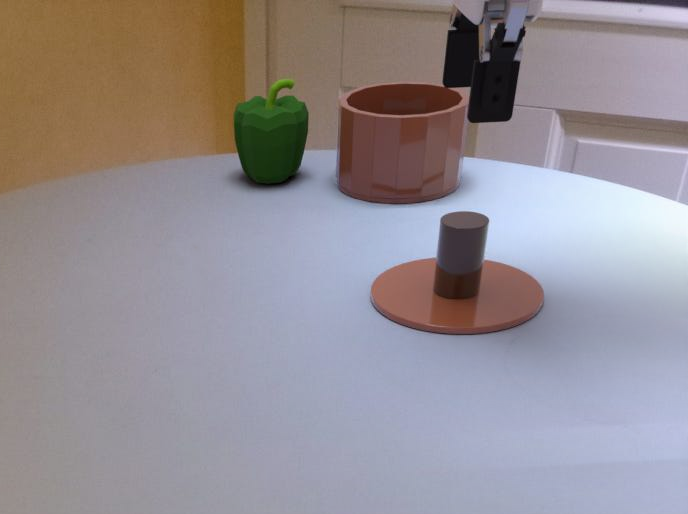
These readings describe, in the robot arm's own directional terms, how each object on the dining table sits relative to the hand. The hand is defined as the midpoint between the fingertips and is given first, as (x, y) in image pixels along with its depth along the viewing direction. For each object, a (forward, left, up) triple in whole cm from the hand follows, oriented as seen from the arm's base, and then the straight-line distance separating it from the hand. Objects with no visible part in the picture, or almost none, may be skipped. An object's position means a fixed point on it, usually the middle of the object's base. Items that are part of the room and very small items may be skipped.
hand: (474, 102), depth 76 cm
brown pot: (0, -32, -16) cm, 35 cm away
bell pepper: (+14, -36, -16) cm, 41 cm away
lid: (0, 0, -15) cm, 15 cm away
